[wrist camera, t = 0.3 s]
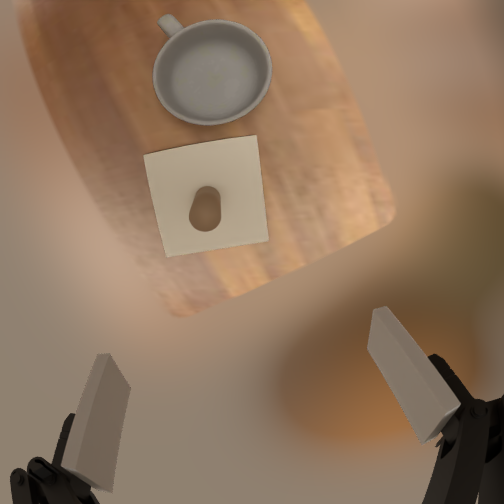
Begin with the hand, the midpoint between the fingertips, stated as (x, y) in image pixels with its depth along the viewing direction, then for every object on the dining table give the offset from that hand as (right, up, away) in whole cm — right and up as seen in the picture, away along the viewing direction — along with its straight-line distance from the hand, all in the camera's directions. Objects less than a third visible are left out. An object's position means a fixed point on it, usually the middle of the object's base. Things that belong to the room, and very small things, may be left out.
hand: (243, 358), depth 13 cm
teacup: (-5, +26, +14) cm, 30 cm away
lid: (-5, +12, +20) cm, 24 cm away
